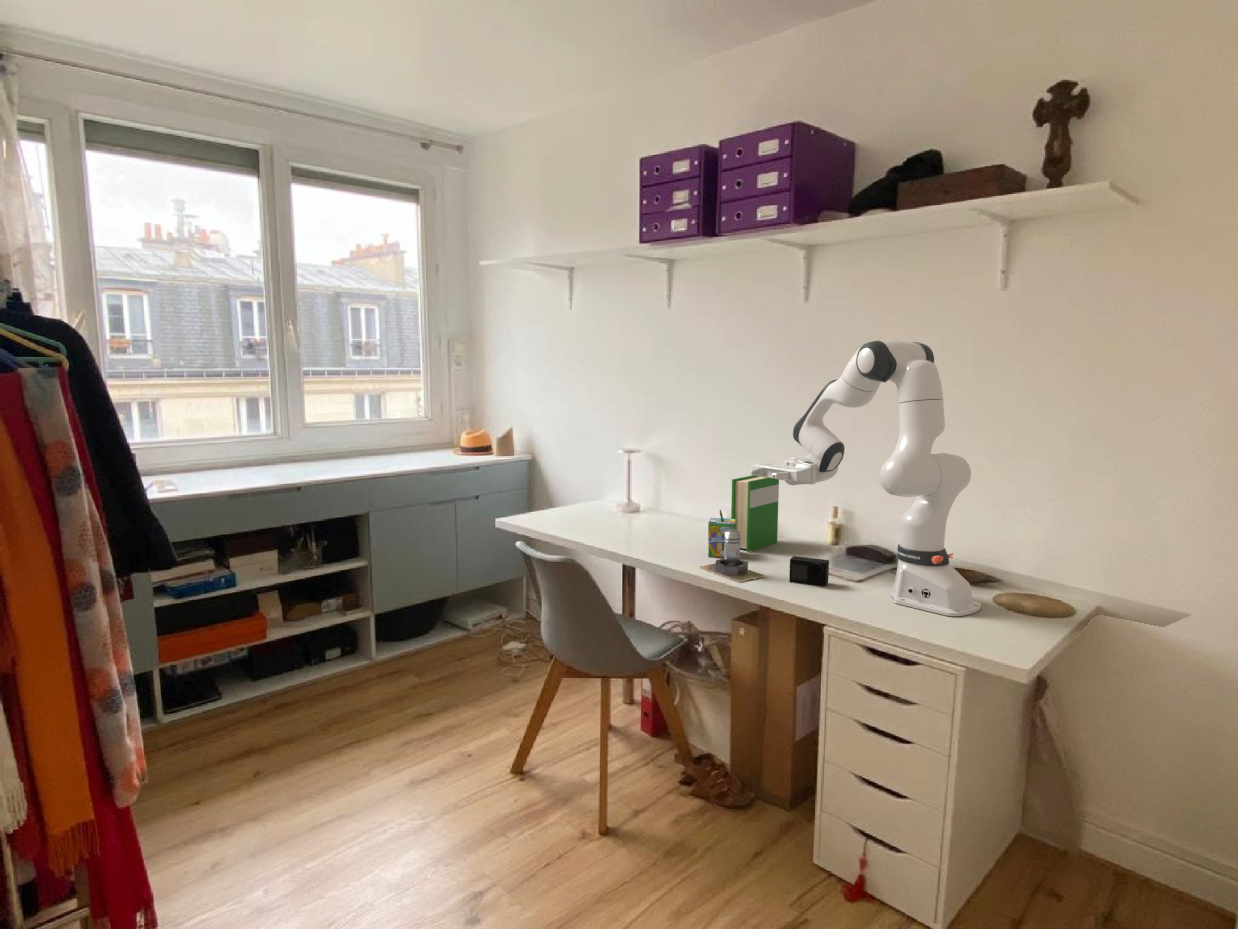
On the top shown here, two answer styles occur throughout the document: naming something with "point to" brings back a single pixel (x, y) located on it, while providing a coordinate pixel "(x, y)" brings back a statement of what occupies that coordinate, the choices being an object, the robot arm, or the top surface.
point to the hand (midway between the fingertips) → (763, 474)
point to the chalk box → (718, 534)
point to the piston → (732, 547)
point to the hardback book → (755, 510)
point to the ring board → (733, 571)
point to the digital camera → (809, 571)
